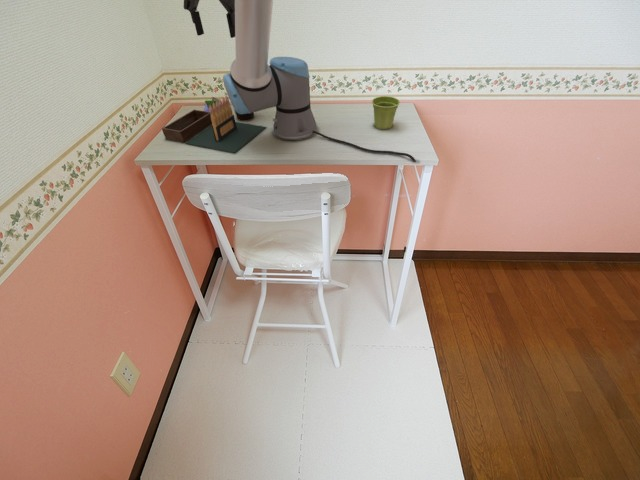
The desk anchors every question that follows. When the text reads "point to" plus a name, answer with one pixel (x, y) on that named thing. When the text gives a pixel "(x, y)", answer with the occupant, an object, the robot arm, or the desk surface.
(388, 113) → the plant pot
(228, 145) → the desk mat
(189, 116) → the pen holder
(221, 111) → the ammunition clip
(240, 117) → the coffee mug
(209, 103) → the geometric puzzle
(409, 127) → the desk surface
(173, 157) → the desk surface
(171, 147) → the desk surface
